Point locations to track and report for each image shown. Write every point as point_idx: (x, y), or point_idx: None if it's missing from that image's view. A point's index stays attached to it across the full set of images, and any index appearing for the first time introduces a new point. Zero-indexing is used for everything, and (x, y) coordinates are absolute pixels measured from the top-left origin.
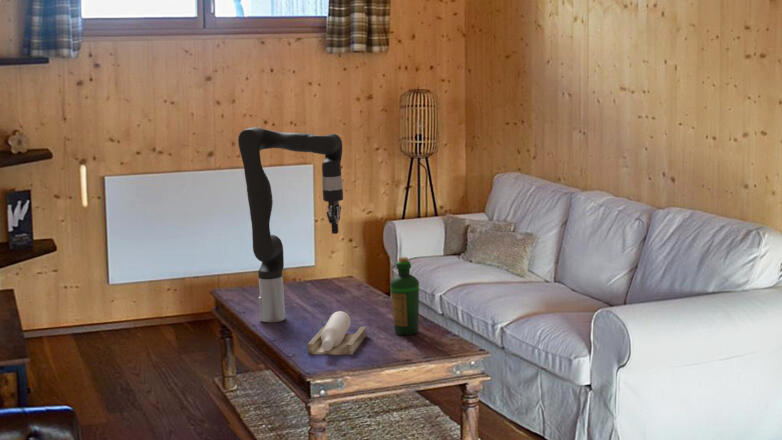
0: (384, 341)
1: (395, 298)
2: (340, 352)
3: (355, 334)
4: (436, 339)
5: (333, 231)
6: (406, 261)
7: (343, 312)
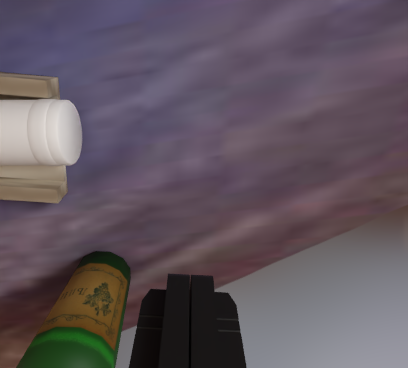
0: (32, 235)
1: (41, 326)
2: None
3: None
4: None
5: (145, 307)
6: None
7: (57, 154)
